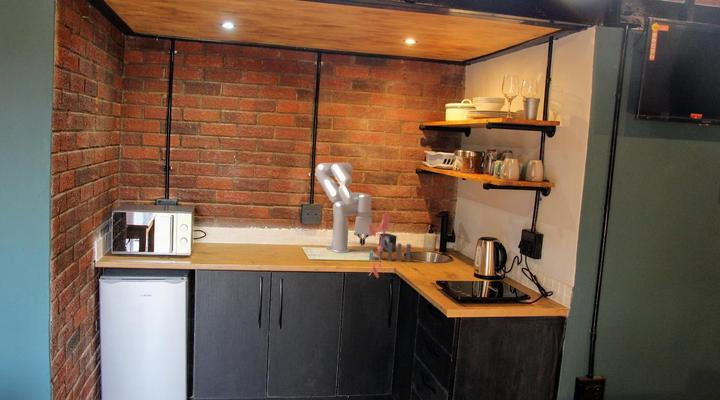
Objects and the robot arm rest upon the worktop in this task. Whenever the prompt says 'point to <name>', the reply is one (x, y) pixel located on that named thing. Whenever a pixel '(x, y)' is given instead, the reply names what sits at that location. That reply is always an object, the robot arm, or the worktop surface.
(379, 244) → the domino
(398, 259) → the domino
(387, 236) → the small box
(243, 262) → the worktop surface
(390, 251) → the domino
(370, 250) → the domino
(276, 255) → the worktop surface
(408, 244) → the domino
